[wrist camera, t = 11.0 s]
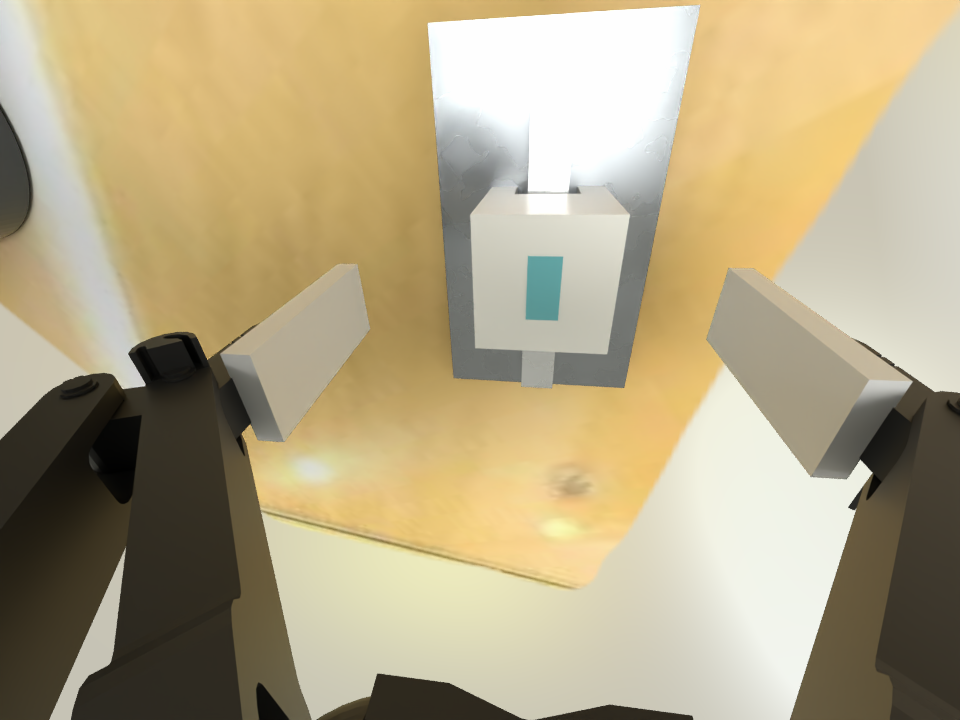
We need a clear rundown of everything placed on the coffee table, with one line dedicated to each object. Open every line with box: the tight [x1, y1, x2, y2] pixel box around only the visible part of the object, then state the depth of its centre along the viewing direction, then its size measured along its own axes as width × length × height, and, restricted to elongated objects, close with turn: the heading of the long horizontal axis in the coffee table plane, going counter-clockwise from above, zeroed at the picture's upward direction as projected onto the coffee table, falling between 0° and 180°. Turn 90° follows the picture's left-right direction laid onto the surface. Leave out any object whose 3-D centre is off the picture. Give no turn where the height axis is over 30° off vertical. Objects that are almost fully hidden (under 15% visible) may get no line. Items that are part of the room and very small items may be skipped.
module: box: [470, 186, 630, 354], centre depth 20 cm, size 6×6×8 cm
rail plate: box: [428, 5, 700, 388], centre depth 22 cm, size 12×20×3 cm, turn 1°
